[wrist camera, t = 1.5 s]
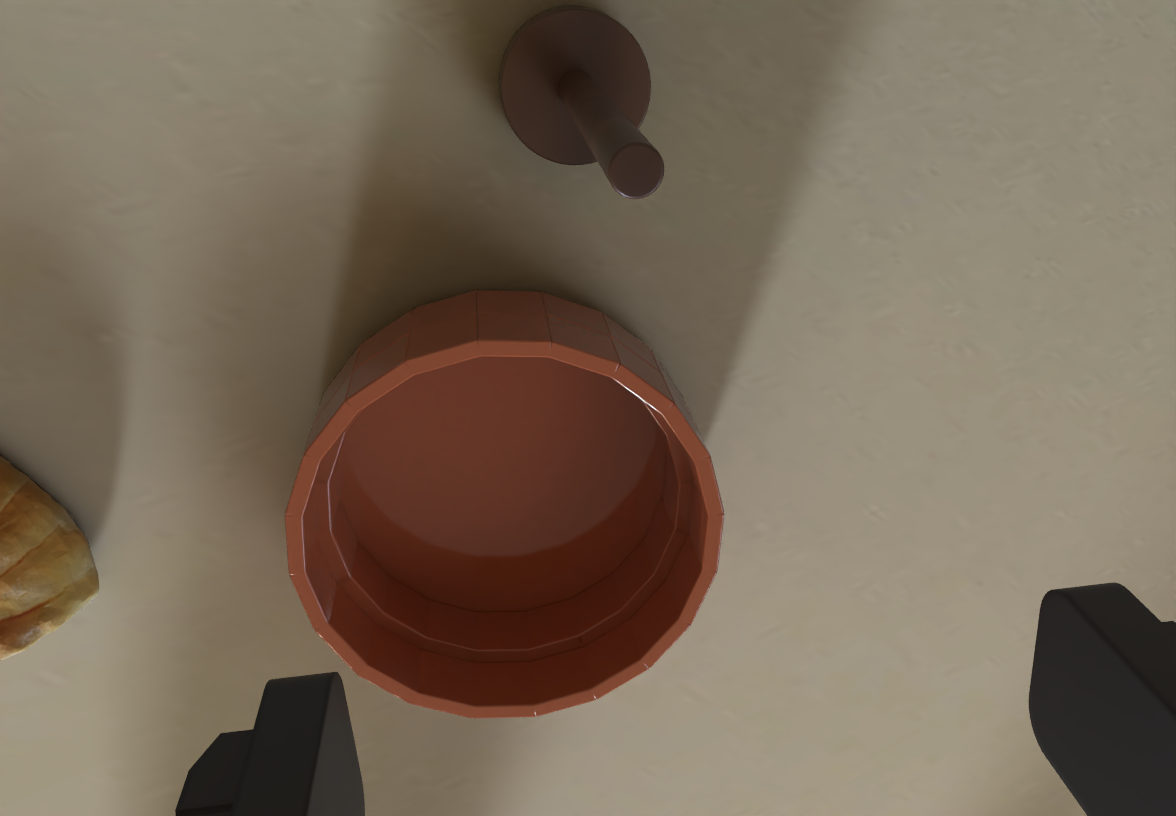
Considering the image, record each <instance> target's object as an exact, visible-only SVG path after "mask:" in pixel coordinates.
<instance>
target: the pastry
mask: <svg viewBox="0 0 1176 816" xmlns="http://www.w3.org/2000/svg"><path fill="white" fill-rule="evenodd" d="M98 591H99V579H98V573H97V570H96V567H95V563H94V560H93V557H92V554H91V550H90V547H89V543H88V541H87V538H86V536H85V535H84V534H83V533H82V531H81V530H80V529H79V528H78V527H77V525H76V524H75V522H74V521H73V520H72V518H71V516H70V514H69V512H68V511H66V510H65V509H64V508H63V507H62V506H61V505H59V504H58V503H57V502H56V501H54V500H53V499H52V497H51V496H50V495H49V494H48V493H47V492H45V491H43V490H42V489H40V488H39V487H38V486H37V485H36V484H35V483H34V482H33V481H32V480H31V479H30V478H29V477H28V476H27V475H26V474H23V473H21V472H20V471H18V470H17V469H16V468H15V467H13V466H12V465H11V464H10V461H7V460H5V459H4V458H3V457H2V456H0V660H2V659H5V658H7V657H10V656H12V655H15V654H17V653H19V652H22V651H24V650H27V649H28V648H30V647H31V646H33V645H34V644H35V643H36V642H38V641H39V640H40V639H41V638H42V637H43V636H45V635H47V634H50V633H52V632H54V631H55V630H56V629H58V628H59V627H60V626H62V625H63V624H64V623H65V622H67V621H68V620H69V619H71V618H72V617H73V616H74V615H76V614H77V613H78V612H80V611H81V610H82V609H83V608H84V607H85V606H86V605H87V604H88V603H89V602H90V601H92V600H93V599H94V598H95V596H96V595H97V593H98Z"/></svg>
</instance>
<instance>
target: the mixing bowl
mask: <svg viewBox="0 0 1176 816" xmlns="http://www.w3.org/2000/svg"><path fill="white" fill-rule="evenodd" d="M723 521H724V509H723V505H722V501H721V497H720V493H719V489H718V484H717V480H716V476H715V472H714V468H713V464H712V460H711V456H710V454H709V452H708V449H707V447H706V445H705V443H704V441H703V439H702V437H701V435H700V432H699V430H698V428H697V426H696V424H695V422H694V420H693V418H692V416H691V413H690V411H689V409H688V407H687V405H686V403H685V401H684V399H683V396H682V394H681V393H680V391H679V390H678V388H677V387H676V385H675V384H674V382H673V381H672V379H671V378H670V376H669V375H668V373H667V372H666V371H665V369H664V368H663V366H662V365H661V363H660V362H659V360H658V359H657V357H656V356H655V354H654V353H653V351H652V350H651V349H650V348H649V347H648V346H647V345H645V344H644V343H643V342H641V341H640V340H639V339H637V338H636V337H635V336H633V335H632V334H631V333H629V332H628V331H627V330H625V329H624V328H623V327H621V326H620V325H619V324H617V323H616V322H615V321H613V320H612V319H611V318H609V317H608V316H607V315H605V314H604V313H601V312H600V311H598V310H595V309H592V308H589V307H586V306H583V305H580V304H577V303H574V302H571V301H568V300H565V299H562V298H559V297H556V296H553V295H550V294H547V293H544V292H541V291H496V290H477V291H472V292H468V293H465V294H461V295H458V296H454V297H451V298H447V299H444V300H440V301H437V302H433V303H430V304H426V305H423V306H420V307H416V308H414V310H410V311H409V312H408V313H406V314H405V315H403V316H402V317H400V318H399V319H397V320H396V321H394V322H393V323H391V324H390V325H388V326H387V327H385V328H384V329H382V330H381V331H379V332H378V333H376V334H375V335H373V336H372V337H370V338H369V339H367V340H366V341H364V342H363V343H362V345H359V347H358V348H357V349H356V351H355V352H354V353H353V354H352V356H351V357H350V358H349V360H348V361H347V362H346V364H345V365H344V366H343V368H342V369H341V370H340V372H339V373H338V374H337V375H336V377H335V378H334V379H333V381H332V382H331V383H330V385H329V386H328V387H327V389H326V390H325V392H324V393H323V396H322V399H321V402H320V405H319V408H318V411H317V414H316V417H315V420H314V423H313V426H312V429H311V432H310V436H309V439H308V442H307V445H306V448H305V451H304V454H303V457H302V460H301V463H300V466H299V470H298V473H297V476H296V479H295V483H294V486H293V489H292V492H291V495H290V499H289V502H288V505H287V508H286V511H285V526H286V540H287V555H288V570H289V575H290V578H291V580H292V583H293V585H294V587H295V589H296V591H297V593H298V596H299V598H300V600H301V602H302V604H303V607H304V609H305V611H306V613H307V615H308V617H309V620H310V622H311V624H312V626H313V628H314V629H315V631H316V632H317V633H318V635H319V636H320V637H321V638H322V639H323V640H324V641H325V642H326V643H327V644H328V645H329V646H330V647H331V648H332V649H333V650H334V651H335V652H336V653H337V654H338V655H339V656H340V657H341V658H342V659H343V661H344V662H345V663H346V664H347V665H348V666H349V667H350V668H351V669H352V670H353V671H354V672H355V673H357V675H359V676H361V677H362V678H364V679H366V680H368V681H370V682H371V683H373V684H375V685H377V686H379V687H381V688H382V689H384V690H386V691H388V692H390V693H391V694H393V695H395V696H397V697H399V698H401V699H402V700H404V701H406V702H408V703H410V704H413V705H417V706H422V707H426V708H430V709H434V710H439V711H443V712H447V713H451V714H456V715H460V716H464V717H468V718H472V717H473V718H507V717H535V716H540V715H544V714H548V713H551V712H555V711H558V710H562V709H565V708H569V707H572V706H576V705H579V704H583V703H587V702H590V701H594V700H596V699H599V698H600V697H602V696H604V695H605V694H607V693H609V692H610V691H612V690H614V689H615V688H617V687H619V686H621V685H622V684H624V683H626V682H627V681H629V680H631V679H632V678H634V677H636V676H638V675H639V674H641V673H643V672H644V671H646V670H648V669H649V667H652V666H653V664H654V663H655V662H656V661H657V660H658V659H659V658H660V657H661V656H662V655H663V654H664V653H665V652H666V651H667V650H668V649H669V648H670V647H671V646H672V645H673V643H674V642H675V641H676V640H677V639H678V638H679V637H680V636H681V635H682V634H683V633H684V632H685V631H686V630H687V629H688V628H689V627H690V625H691V624H692V622H693V620H694V618H695V616H696V614H697V612H698V610H699V608H700V606H701V604H702V602H703V600H704V598H705V596H706V594H707V592H708V590H709V588H710V586H711V584H712V582H713V580H714V577H715V575H716V573H717V570H718V563H719V555H720V546H721V538H722V529H723Z"/></svg>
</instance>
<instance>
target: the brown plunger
mask: <svg viewBox="0 0 1176 816" xmlns="http://www.w3.org/2000/svg"><path fill="white" fill-rule="evenodd" d="M499 85H500V94H501V100H502V105H503V109H504V112H505V115H506V118H507V120H508V122H509V124H510V126H511V128H512V129H513V131H514V133H515V134H516V135H517V137H518V138H519V139H520V140H521V141H522V142H523V143H524V144H525V145H526V146H527V147H528V148H529V149H530V150H532V151H533V152H535V153H536V154H538V155H539V156H541V157H543V158H545V159H548V160H550V161H553V162H556V163H561V164H567V165H584V164H590V163H594V162H597V161H598V163H599V165H600V166H601V168H602V170H603V171H604V173H605V175H606V177H607V178H608V180H609V182H610V183H611V185H612V187H613V188H614V189H615V191H616V192H618V193H619V194H620V195H622V196H624V197H626V198H630V199H640V198H644V197H646V196H649V195H650V194H652V193H653V192H654V191H655V190H656V189H657V188H658V187H659V185H660V184H661V182H662V179H663V176H664V163H663V159H662V157H661V155H660V154H659V152H658V151H657V150H656V149H655V148H654V147H653V145H652V144H651V143H650V142H649V141H648V140H647V139H646V138H645V137H644V136H643V134H642V133H641V132H640V131H639V130H638V129H639V127H640V125H641V124H642V122H643V120H644V117H645V115H646V112H647V109H648V105H649V100H650V92H651V81H650V72H649V68H648V64H647V61H646V58H645V56H644V53H643V51H642V49H641V47H640V45H639V44H638V42H637V41H636V39H635V38H634V37H633V35H632V34H631V33H630V32H629V31H628V30H627V29H626V28H625V27H624V26H622V25H621V24H620V23H619V22H617V21H616V20H614V19H612V18H611V17H609V16H607V15H605V14H603V13H601V12H598V11H596V10H594V9H590V8H586V7H580V6H562V7H556V8H553V9H549V10H546V11H544V12H542V13H540V14H538V15H536V16H534V17H533V18H531V19H530V20H529V21H527V22H526V23H525V24H524V25H523V26H522V27H521V28H520V29H519V30H518V31H517V32H516V33H515V35H514V36H513V38H512V39H511V41H510V42H509V44H508V46H507V48H506V50H505V53H504V56H503V59H502V63H501V67H500V76H499Z"/></svg>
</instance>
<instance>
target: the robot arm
mask: <svg viewBox="0 0 1176 816" xmlns="http://www.w3.org/2000/svg"><path fill="white" fill-rule="evenodd" d="M1029 713H1030V719H1031V724H1032V727H1033V731H1034V734H1035V737H1036V739H1037V742H1038V744H1039V746H1040V748H1041V750H1042V752H1043V753H1044V755H1045V757H1046V758H1047V759H1048V761H1049V762H1050V764H1051V765H1052V766H1053V768H1054V769H1055V771H1056V772H1057V773H1058V775H1059V776H1060V778H1061V779H1062V780H1063V782H1064V783H1065V785H1066V786H1067V788H1068V789H1069V790H1070V792H1071V793H1072V795H1073V796H1074V797H1075V799H1076V800H1077V802H1078V803H1079V804H1080V806H1081V807H1082V809H1083V810H1084V811H1085V813H1086V814H1087V816H1176V623H1175V622H1174V621H1168V622H1161V621H1160V620H1159V619H1158V618H1157V617H1156V616H1155V615H1154V614H1153V613H1151V612H1150V611H1149V610H1148V609H1147V608H1146V607H1145V606H1144V605H1143V604H1142V603H1141V602H1140V601H1139V600H1138V599H1137V598H1136V597H1135V596H1134V595H1133V594H1132V593H1131V592H1130V591H1129V590H1128V589H1127V588H1125V587H1124V586H1123V585H1121V584H1118V583H1106V584H1097V585H1089V586H1080V587H1072V588H1063V589H1055V590H1050V591H1048V592H1047V593H1046V594H1045V596H1044V598H1043V600H1042V603H1041V607H1040V614H1039V622H1038V630H1037V637H1036V645H1035V653H1034V661H1033V668H1032V676H1031V684H1030V692H1029ZM175 812H176V816H365V805H364V792H363V784H362V777H361V772H360V767H359V762H358V757H357V752H356V747H355V742H354V737H353V732H352V727H351V722H350V717H349V712H348V707H347V702H346V697H345V692H344V687H343V683H342V680H341V677H340V675H339V673H338V672H331V673H323V674H314V675H305V676H297V677H288V678H280V679H272V680H269V681H268V682H267V684H266V686H265V689H264V692H263V696H262V700H261V703H260V707H259V711H258V714H257V718H256V722H255V725H254V729H253V730H245V731H237V732H229V733H220V735H219V736H218V737H217V738H216V739H215V741H214V742H213V743H212V744H211V745H210V746H209V748H208V749H207V750H206V751H205V752H204V753H203V755H202V756H201V757H200V758H199V759H198V760H197V762H196V763H195V764H194V765H193V766H192V768H191V769H190V770H189V772H188V775H187V778H186V781H185V784H184V787H183V789H182V792H181V795H180V798H179V801H178V804H177V807H176V810H175Z"/></svg>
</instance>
